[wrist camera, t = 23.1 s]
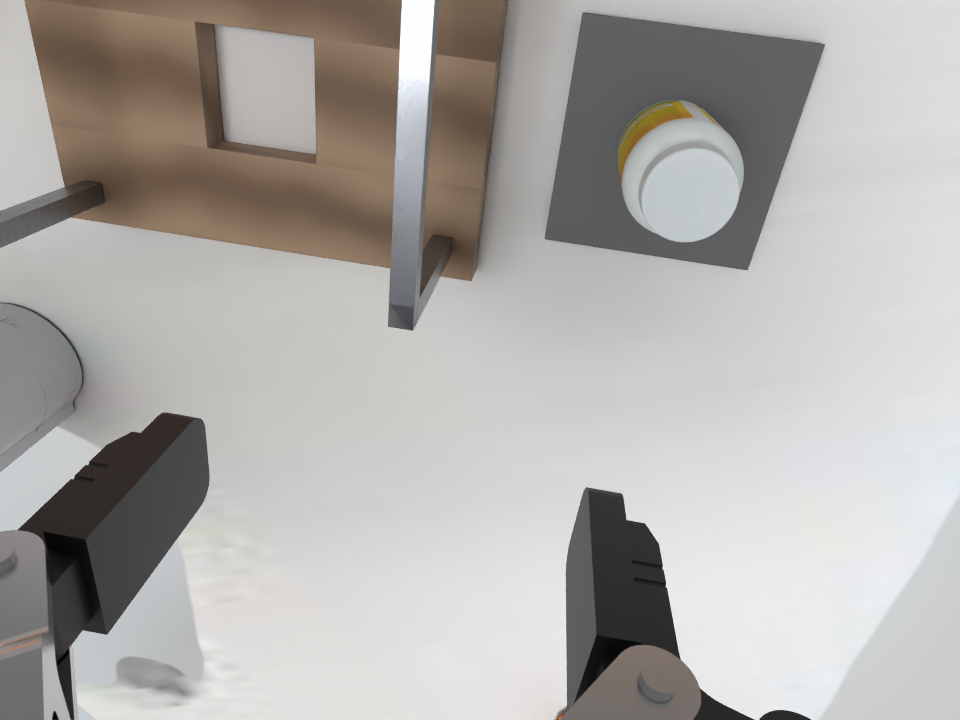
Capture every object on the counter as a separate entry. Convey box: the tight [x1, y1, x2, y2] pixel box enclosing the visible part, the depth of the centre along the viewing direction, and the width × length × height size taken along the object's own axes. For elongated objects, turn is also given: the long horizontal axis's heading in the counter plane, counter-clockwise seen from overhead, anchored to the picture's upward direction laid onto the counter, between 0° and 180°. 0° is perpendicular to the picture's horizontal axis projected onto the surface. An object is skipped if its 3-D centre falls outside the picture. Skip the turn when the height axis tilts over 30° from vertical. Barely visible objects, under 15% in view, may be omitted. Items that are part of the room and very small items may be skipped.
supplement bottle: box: [617, 100, 744, 242], centre depth 31 cm, size 5×5×10 cm
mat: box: [545, 13, 825, 270], centre depth 36 cm, size 12×12×1 cm
